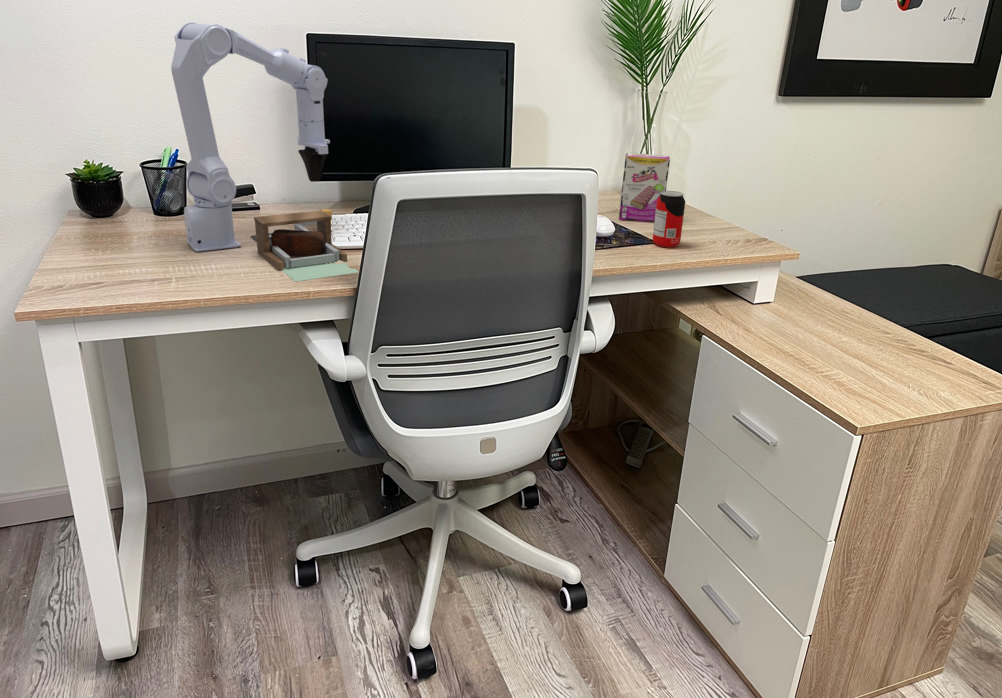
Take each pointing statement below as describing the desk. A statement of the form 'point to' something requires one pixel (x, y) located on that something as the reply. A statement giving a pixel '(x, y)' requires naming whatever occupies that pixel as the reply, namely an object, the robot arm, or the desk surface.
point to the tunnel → (285, 219)
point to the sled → (329, 256)
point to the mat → (318, 271)
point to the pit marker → (255, 237)
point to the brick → (299, 242)
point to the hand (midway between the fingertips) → (314, 180)
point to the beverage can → (668, 219)
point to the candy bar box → (642, 185)
